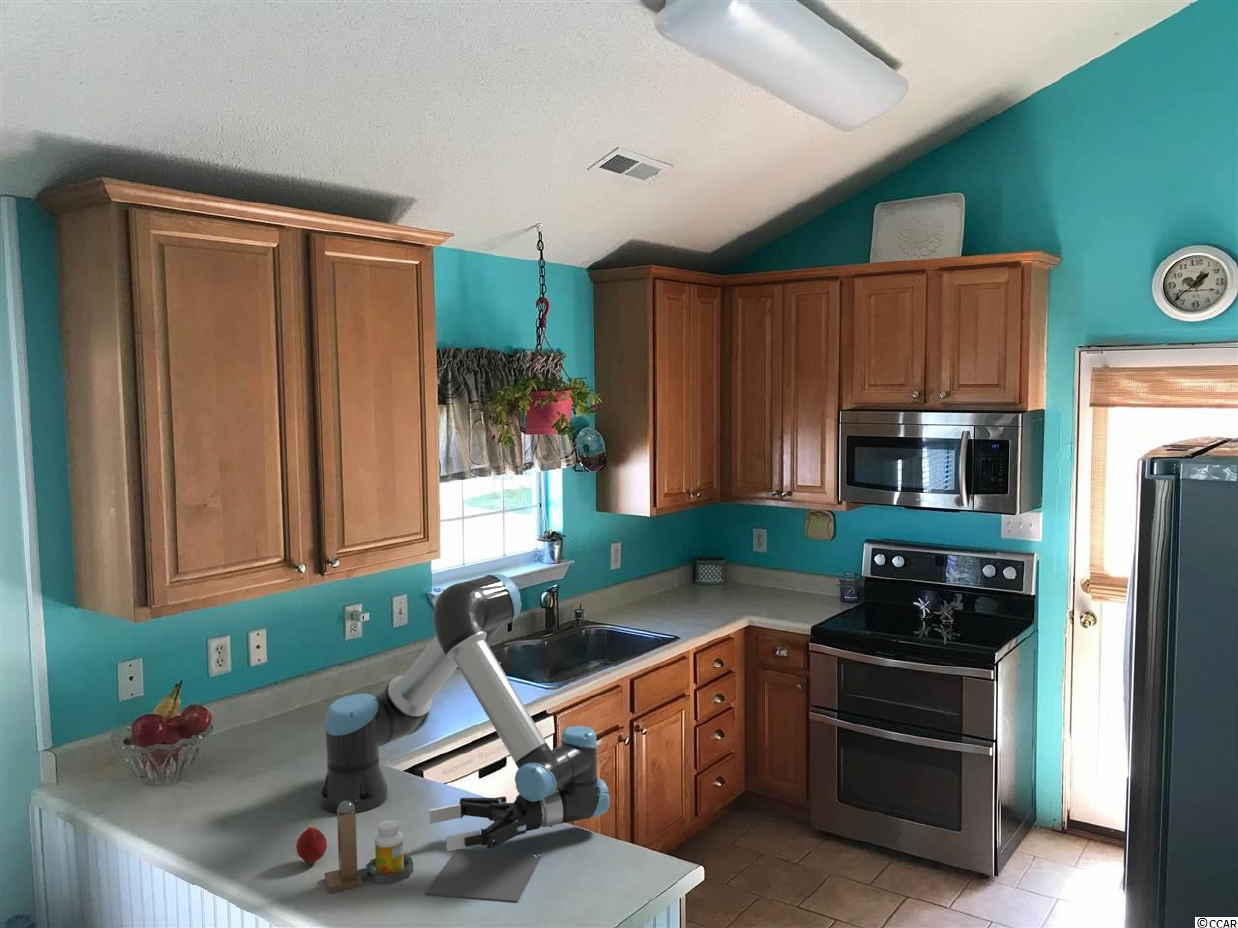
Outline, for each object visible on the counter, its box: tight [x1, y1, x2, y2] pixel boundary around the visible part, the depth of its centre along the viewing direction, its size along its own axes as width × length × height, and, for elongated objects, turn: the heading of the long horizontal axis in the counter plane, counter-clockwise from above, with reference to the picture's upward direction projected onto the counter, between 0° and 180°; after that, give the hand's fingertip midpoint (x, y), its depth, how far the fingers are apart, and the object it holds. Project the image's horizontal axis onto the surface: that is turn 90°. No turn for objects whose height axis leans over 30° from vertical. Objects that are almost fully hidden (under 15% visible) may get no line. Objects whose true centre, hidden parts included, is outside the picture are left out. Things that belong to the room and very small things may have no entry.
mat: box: [424, 848, 543, 903], centre depth 190 cm, size 18×18×1 cm
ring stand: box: [324, 800, 414, 894], centre depth 189 cm, size 14×16×16 cm
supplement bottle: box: [374, 819, 405, 874], centre depth 191 cm, size 5×5×10 cm
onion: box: [295, 824, 328, 865], centre depth 195 cm, size 6×6×8 cm
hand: (437, 829), depth 195 cm, fingers open, 13 cm apart
